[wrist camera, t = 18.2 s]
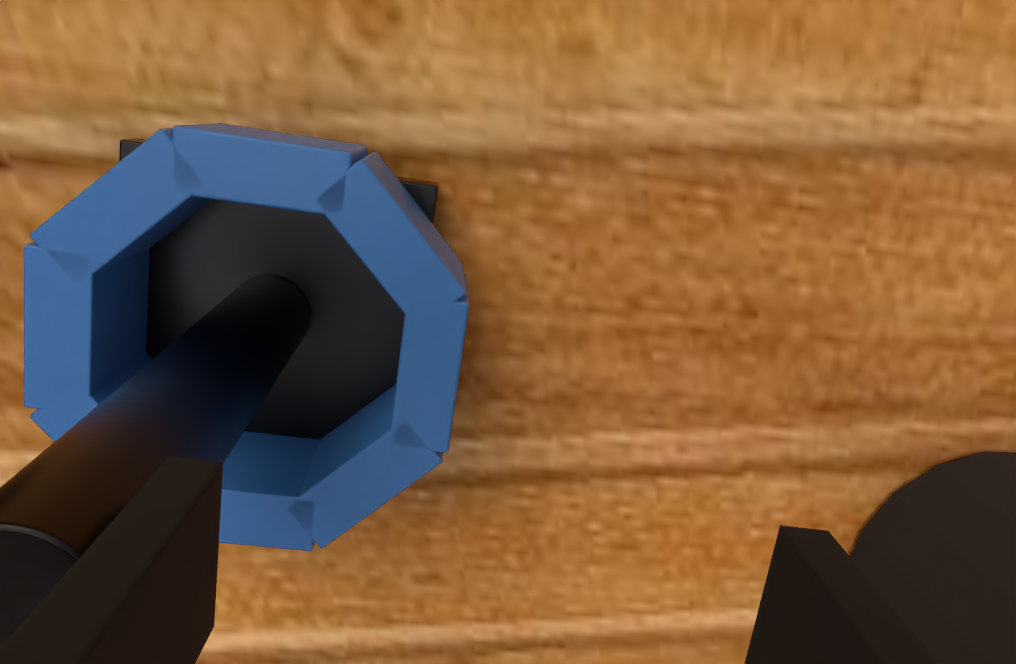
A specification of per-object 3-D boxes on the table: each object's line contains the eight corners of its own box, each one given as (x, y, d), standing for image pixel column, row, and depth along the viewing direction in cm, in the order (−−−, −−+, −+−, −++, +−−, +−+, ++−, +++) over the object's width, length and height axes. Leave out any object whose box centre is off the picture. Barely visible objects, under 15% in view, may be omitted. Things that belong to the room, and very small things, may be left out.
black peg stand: (438, 182, 25) (425, 304, 9) (404, 451, 27) (346, 918, 11) (134, 138, 24) (-465, 189, 8) (125, 421, 26) (-357, 886, 10)
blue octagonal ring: (481, 162, 23) (488, 172, 20) (434, 497, 26) (432, 563, 22) (95, 104, 22) (22, 102, 18) (88, 461, 25) (23, 524, 21)
